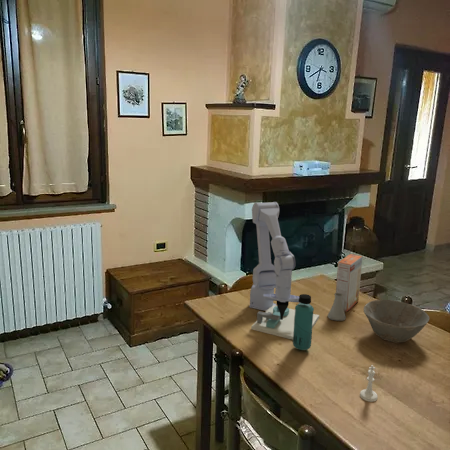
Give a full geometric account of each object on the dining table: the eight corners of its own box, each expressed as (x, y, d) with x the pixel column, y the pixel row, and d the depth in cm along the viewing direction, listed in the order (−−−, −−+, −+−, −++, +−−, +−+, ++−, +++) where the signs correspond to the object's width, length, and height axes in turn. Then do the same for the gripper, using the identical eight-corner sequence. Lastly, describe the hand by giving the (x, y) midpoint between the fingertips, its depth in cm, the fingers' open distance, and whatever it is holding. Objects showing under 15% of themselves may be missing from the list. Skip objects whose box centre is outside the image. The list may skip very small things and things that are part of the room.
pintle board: (251, 329, 166) (251, 316, 165) (272, 307, 185) (272, 295, 184) (302, 342, 157) (303, 328, 156) (319, 317, 177) (320, 305, 175)
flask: (344, 314, 181) (346, 291, 178) (347, 322, 174) (349, 298, 171) (326, 312, 181) (328, 290, 179) (328, 320, 174) (330, 297, 172)
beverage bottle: (312, 346, 155) (316, 293, 150) (309, 356, 149) (313, 300, 144) (293, 343, 157) (297, 290, 152) (290, 352, 151) (293, 297, 146)
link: (276, 308, 181) (276, 304, 180) (290, 311, 179) (290, 307, 178) (262, 325, 166) (262, 321, 165) (277, 329, 163) (278, 325, 163)
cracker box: (345, 297, 196) (349, 253, 191) (358, 301, 193) (363, 255, 188) (333, 308, 185) (337, 261, 180) (347, 312, 182) (351, 264, 177)
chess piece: (357, 391, 130) (360, 361, 128) (373, 390, 131) (377, 360, 128) (363, 402, 126) (367, 370, 123) (380, 401, 126) (384, 370, 123)
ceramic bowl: (426, 330, 169) (429, 306, 166) (424, 359, 148) (428, 332, 146) (365, 318, 177) (368, 295, 175) (356, 344, 157) (359, 318, 155)
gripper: (263, 288, 164) (262, 321, 167) (303, 290, 162) (301, 324, 165) (264, 281, 170) (262, 313, 174) (302, 283, 169) (300, 316, 172)
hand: (281, 318), depth 170 cm, fingers closed, pressing on link
